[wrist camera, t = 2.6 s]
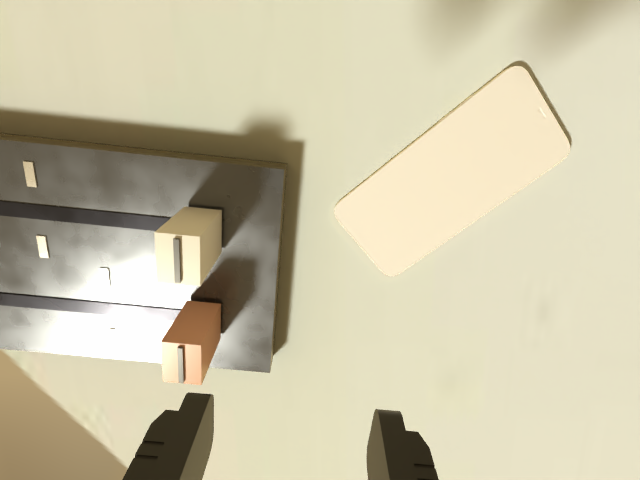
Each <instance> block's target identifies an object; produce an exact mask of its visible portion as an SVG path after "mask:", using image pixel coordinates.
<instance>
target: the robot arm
mask: <svg viewBox="0 0 640 480" xmlns="http://www.w3.org/2000/svg"><path fill="white" fill-rule="evenodd" d="M213 433H214V397H213V395H212V394H200V393H187V394H186V396H185V398H184V400H183V402H182V405H181V407H180V409H179V411H174V410H165V411H164V412H163V413H162V414H161V415H160V416H159V417H158V418H157V419H156V420H155V421H154V422H153V423H151V425H150V427H149V429H148V431H147V433H146V435H145V437H144V439H143V442H142V444H141V445H140V447H139V449H138V450H137V452H136V454H135V458H133V460H132V462H131V464H130V466H129V468H128V470H127V472H126V474H125V476H124V478H123V480H202V478H203V475H204V471H205V468H206V465H207V462H208V458H209V455H210V451H211V447H212V442H213ZM367 472H368V480H439V479H438V476H437V472H436V469H435V468H434V462H433V459H432V455H431V452H430V449H429V447H428V445H427V444H426V442H425V441H424V440H423V438H422V437H421V436H420V434H419V433H418V432H413V431H406V430H405V426H404V422H403V417H402V414H401V412H400V411H390V410H378V409H376V410H375V412H374V416H373V421H372V426H371V431H370V436H369V441H368V446H367Z"/></svg>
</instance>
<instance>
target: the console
mask: <svg viewBox="0 0 640 480" xmlns="http://www.w3.org/2000/svg"><path fill="white" fill-rule="evenodd" d="M286 171H287V164H286V163H276V162H267V161H257V160H248V159H239V158H229V157H220V156H210V155H201V154H191V153H182V152H172V151H163V150H153V149H144V148H134V147H125V146H116V145H106V144H97V143H87V142H78V141H68V140H59V139H49V138H40V137H30V136H21V135H11V134H2V133H0V349H10V350H21V351H32V352H43V353H54V354H66V355H77V356H88V357H99V358H110V359H121V360H133V361H144V362H155V363H162V358H161V340H162V339H163V337H164V336H165V334H166V333H167V331H168V329H169V328H170V326H171V325H172V323H173V322H174V320H175V319H176V317H177V315H178V314H179V312H180V311H181V309H182V308H183V306H184V305H185V303H186V301H198V302H208V303H219V304H221V339H220V341H219V344H218V346H217V349H216V351H215V353H214V356H213V358H212V361H211V363H210V366H209V367H211V368H222V369H233V370H244V371H256V372H267V373H270V370H271V365H272V359H273V350H274V337H275V323H276V309H277V295H278V281H279V268H280V254H281V240H282V226H283V212H284V199H285V185H286ZM185 206H186V207H196V208H206V209H215V210H222V253H221V254H220V256H219V257H218V259H217V261H216V262H215V264H214V265H213V267H212V269H211V270H210V272H209V273H208V275H207V277H206V278H205V280H204V281H203V283H202V285H201V286H190V285H179V284H169V283H158V282H157V271H156V253H155V236H154V232H155V231H156V230H158V229H159V228H160V227H161V226H162V225H163V224H165V223H166V222H167V221H168V220H169V219H170V218H172V217H173V216H174V215H175V214H176V213H178V212H179V211H180V210H181V209H182V208H183V207H185Z"/></svg>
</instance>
